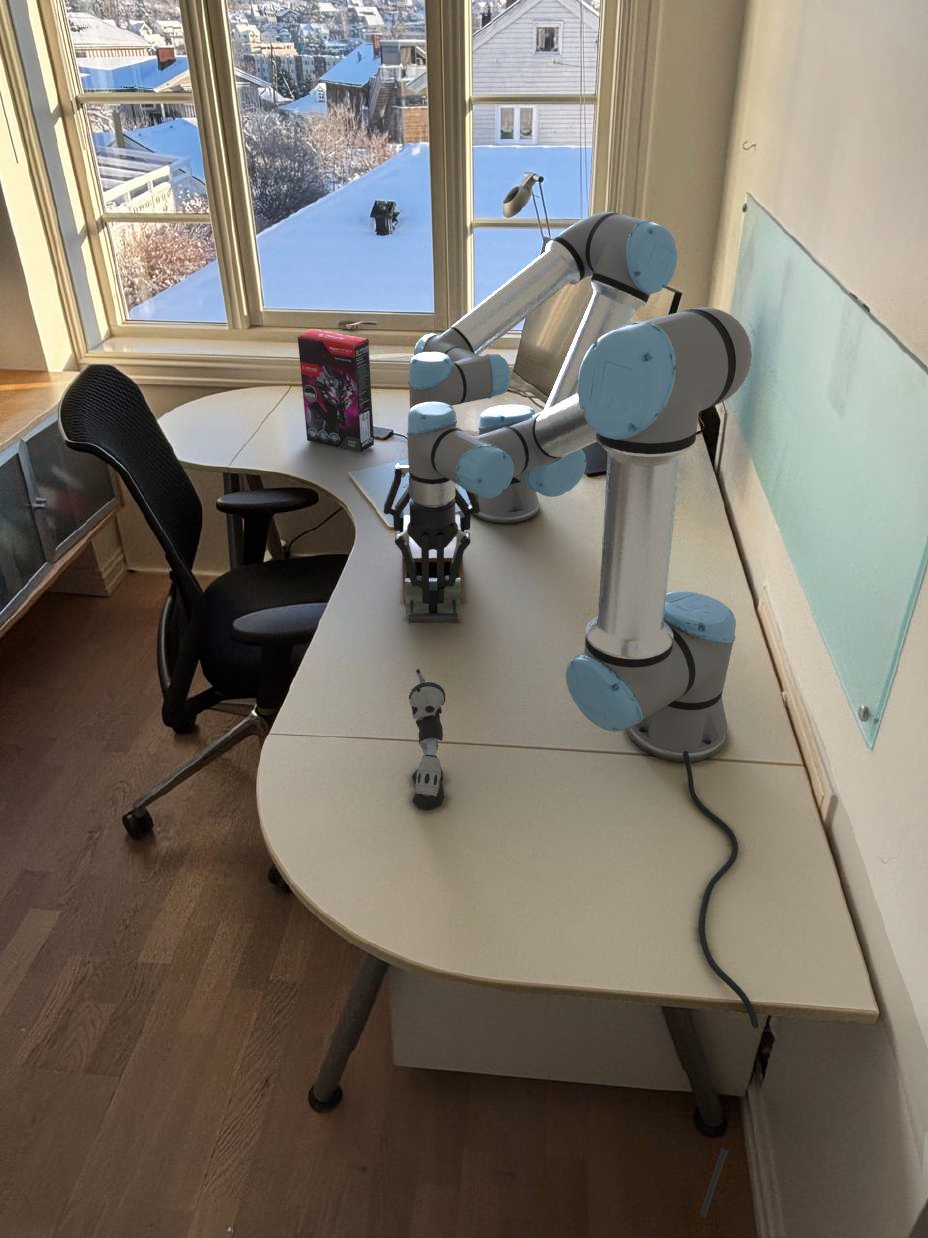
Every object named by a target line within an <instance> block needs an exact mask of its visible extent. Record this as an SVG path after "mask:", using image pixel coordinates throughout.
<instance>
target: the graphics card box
mask: <svg viewBox="0 0 928 1238" xmlns="http://www.w3.org/2000/svg"><path fill="white" fill-rule="evenodd" d="M297 345H298V346H297V347H298V355H299V356H298V357H299V367H300V377H301V389H302V399H303V410H304V411H303V412H304V421H305V422H304V423H305V433H306V441H307V442H311V443H316V444H320V445H324V446H329V447H333V448H338V449H342V450H346V451H350V452H354V453H359V454H360V453H363V452H364V451H366V450H368V449H369V448H371V447H373V446H374V445H375V436H374V418H373V417H374V416H373V403H372V402H373V401H372V383H371V382H372V380H371V361H370V339H369V338H368V337H360V336H355V335H354V336H353V335H349V334H344V333H343V334H342V333H338V332H332V331H327V330H321V329H316V328H310V329H307V330H305V331H303V332H301V334H300V333H299V335H298V336H297Z"/></svg>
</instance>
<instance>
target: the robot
mask: <svg viewBox="0 0 928 1238" xmlns="http://www.w3.org/2000/svg"><path fill="white" fill-rule="evenodd" d="M415 670H416V671H415V672H416V675H417V677H418V680H419V682H420V683H418V684H416V685H415V686H414V687H412V689H410V692H409V694H408V700H409V705H410V707H411V711H412V712H411V715H412V719H414V720H415V725H416V727H417V728H418V744H419V746H420V748H421V751H422V754H423V755H422V757H421V759H420V762H419V764H418V767H417V769H416V770H415V771H414V772H413V774H412V775H411V777H412V780H413V783H414V784H415V793H414V796H413V798H412V803H413V804H414V805H415V806H416V807H417V808H418V809H421V810H432V809H435V808H436V807H439V806H441V805H442V804H443V802H444V799H445V794H444V787H443V784H442V782H443V781H444V773H443V769H442V764H441V761H440V758H439V757H438V756H437V753H438V750H439V741H441V742H442V741H443V739H444V729H443V724H442V722H441V714H442V713H443V710H442V706H444V704H445V703H446V692H445V690H444V687H442V686H441V685H440V684H438V683H437V682H435V681H429V680H428V681H426V679H425V677H424V676H423V674H422V671H421V670H420V669H419V668H417V669H415Z"/></svg>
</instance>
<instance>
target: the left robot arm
mask: <svg viewBox="0 0 928 1238" xmlns="http://www.w3.org/2000/svg"><path fill="white" fill-rule="evenodd" d="M676 245H677V244H676V240H675V238H674V236H673V234H672V233H671V232H670V231H669V229H668V228H666V227H665V226H662V225H660V224H658V223H656V222H654V221H650V220H649V219H642V218H637V217H633V216H629V215H624V214H621V213H618V212H613V211H603V212H602V211H601V212H597V213H594V214H592V215H589V216H587V217H585V218H583V219H581V220H579V221H577V222H575V223H574V224H572V225H570V226H569V227H567V228H565V229H564V230H563V231H561V232H560V233H559V234H557V235H556V236H555V237H553V238H552V239H551V240H549V241H548V242H547V243H546V246H545V252H543V253H542V254H541V255H539V256H538V257H537V258H535V259H534V260H533V261H532V262H531V263H530V264H528V265H527V266H526V267H525V268H523V269H522V270H521V271H519V272H518V273H517V274H516V275H514V276H513V277H512V278H510V279H509V280H508V281H507V282H506V283H505V284H503V285H502V286H501V287H500V288H498V289H497V290H495V291H494V292H493V293H492V294H491V295H489V296H487V298H486V299H484V300H483V301H481V303H479V304H478V305H477V306H476V307H474V308H473V309H472V310H470V311H469V312H468V313H467V314H465V315H464V316H463V317H462V318H460V319H459V320H458V321H457V322H456V323H454V324H453V325H452V326H450V327H449V328H448V329H446V330H444V332H442V334H439V333H428V334H425V335H423V336H422V337H421V338H420V339H419V340H418V341H417V342H416V344H415V347H414V351H413V356H412V357H411V358H410V361H409V368H408V380H407V383H408V389H409V390H408V391H409V411H410V410H411V408H412V407H414V406H416V405H418V404H421V403H425V402H441V403H445V404H448V405H450V406H452V407H453V406H456V405H457V406H458V405H462V404H467V403H470V402H476V401H480V400H486V399H488V400H489V399H492V398H493V397H494V398H495V397H497V396H500V395H504V394H505V393H506V392H507V391H508V390H509V388H510V386H511V376H512V375H511V374H512V373H511V368H510V366H509V363H508V361H507V360H506V358H505V357H504V356H502V355H501V354H499V353H493V354H492V353H491V354H490V353H487V354H485V355H481V354H482V353H483V352H485V351H486V350H488V349H489V348H490V347H491V346H493V345H494V344H495V343H496V342H497V341H499V340H500V339H501V338H503V337H504V336H505V335H507V333H509V332H510V331H511V330H512V329H514V328H515V327H516V326H518V325H519V324H520V323H521V322H523V321H524V320H525V319H526V318H528V317H529V316H530V315H531V314H532V313H534V312H535V311H536V310H538V309H539V308H540V307H541V306H543V305H544V304H545V303H546V302H547V301H549V300H550V299H552V298H553V297H554V296H555V295H556V294H557V293H559V292H560V291H561V290H563V289H564V288H565V287H566V286H567V285H570V286H576V285H577V284H578V283H580V282H581V281H582V280H583V279H584V280H585V278H587V277H591V279H590V281H589V282H590V285H591V288H592V293H593V294H592V296H591V298H590V301H589V303H588V305H587V308H586V310H585V312H584V315H583V317H582V320H581V322H580V324H579V326H578V329H577V331H576V333H575V336H574V338H573V340H572V343H571V345H570V347H569V350H568V352H567V354H566V357H565V359H564V361H563V364H562V366H561V368H560V371H559V373H558V376H557V377H556V380H555V382H554V384H553V388H552V390H551V392H550V394H549V396H548V398H547V399H548V400H547V402H546V404H545V406H544V408H543V410H542V411H540V412H538V413H536V412H535V409H533V407H531V406H528V405H525V404H500V405H495V406H492V407H488V408H487V409H485V410H484V411H483V412H482V413H481V414H480V416H479V423H478V430H477V431H479V435H482V434H485V433H488V432H492V431H495V430H498V429H501V428H504V427H509V426H512V425H514V424H517V423H520V422H523V421H525V420H528V419H530V418H532V417H534V416H536V415H537V414H539V413H542V412H543V411H545V410H547V409H549V408H551V407H553V406H555V405H556V404H558V403H560V402H562V401H564V400H566V399H568V398H570V397H572V396H573V395H575V394H577V393H578V391H577V385H578V375H579V371H580V367H581V364H582V361H583V359H584V357H585V355H586V353H587V352H588V350H589V349H590V347H591V346H592V345H593V344H594V343H595V342H596V341H597V340H598V339H599V338H600V337H602V336H603V335H605V334H607V333H609V332H611V331H614V330H617V329H619V328H620V327H622V326H624V325H627V324H629V323H631V320H632V318H633V316H634V313H635V312H636V311H637V310H638V309H641V308H643V307H645V306H646V305H647V303H648V301H649V299H650V297H651V295H653V294H656V293H659V292H661V291H662V290H663V288H667V286H668V285H669V284H670V282H671V281H672V279H673V277H674V275H675V272H676V270H677V264H678V249H677V247H676ZM586 457H587V456H586V454H585V452H584V450H583V448H581V449H579V450H577V451H575V452H572V453H570V454H569V455H568V456H566V457H565V458H562V459H561V460H559V461H557V462H554V463H552V464H548V465H544V466H541V467H538V468H535V469H532V470H529V471H526V472H523V473H521V474H518V475H516V476H513V477H512V480H511V482H510V484H509V486H508V487H507V488H506V489H504V490H503V491H502V492H501V494H500V495H498V496H496V497H493V498H483V497H481V496H479V495H477V494H475V493H471V492H469V491H466V490H465V492H466V495H467V498H468V500H469V503H467V501H466V500H465V498H464V496H463V495H462V494H461V493H460V491H459V490H458V488H456V486H455V505H456V507H458V508H459V510H460V511H459V515H460V524H461V531H462V532H465V531H470V529H471V517H472V515H474V516H475V517H476V518H478V519H481V520H483V521H486V522H490V523H496V524H516V523H522V522H524V521H528V520H530V519H531V518H533V517H534V516H536V515H537V513H538V511H539V497H538V494H537V493H539V494H540V495H542V496H545V497H549V498H554V497H555V498H556V497H561V496H562V495H565V493H567V492H570V491H571V490H573V489H574V488H575V487H576V486H577V485H578V484H579V482H580V481H581V480H582V478H583V477H584V474H585V472H586V470H587V469H586V468H587V461H586V459H587V458H586ZM407 474H409V464H407V465H406V464H405V465H402V464H401V463H399V462H397V463H395V464H394V477H393V479H392V482H391V485H390V488H389V491H388V493H387V496H386V499H385V502H384V504H383V513H384V515H390V516H392V518H393V519H392V520H393V530H394V531H395V532H403V526H404V514H405V513H404V510H405V508H406V507H407V505H408V504H409V501H410V496H409V486H408V487H407V488H406V490H405V491H404V492H403V494H402V495H401V497H400V498H399V499H398V501H397V502H396V504H395V505H394V502H395V500H396V497H397V495H398V491H399V488H400V486H401V484H402V479H403V478H405V477H406V475H407Z"/></svg>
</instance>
